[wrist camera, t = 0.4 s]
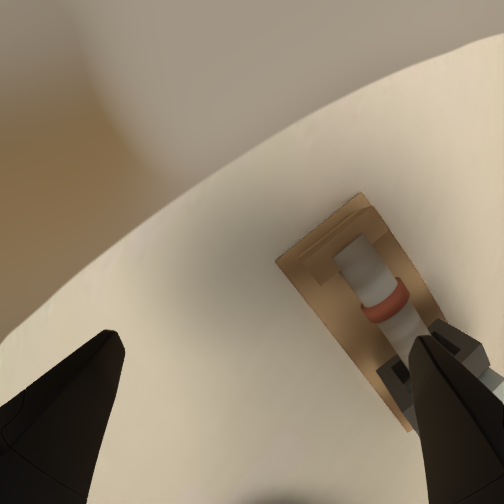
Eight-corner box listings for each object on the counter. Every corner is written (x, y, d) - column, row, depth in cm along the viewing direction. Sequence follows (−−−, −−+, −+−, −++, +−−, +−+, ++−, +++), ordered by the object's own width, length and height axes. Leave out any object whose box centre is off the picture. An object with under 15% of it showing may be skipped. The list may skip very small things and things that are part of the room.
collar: (448, 336, 19) (490, 364, 13) (387, 387, 19) (415, 431, 13) (437, 317, 19) (481, 343, 13) (375, 370, 19) (402, 412, 13)
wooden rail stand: (470, 373, 21) (509, 405, 14) (405, 428, 22) (430, 473, 15) (358, 193, 21) (389, 176, 14) (275, 260, 22) (271, 272, 15)
